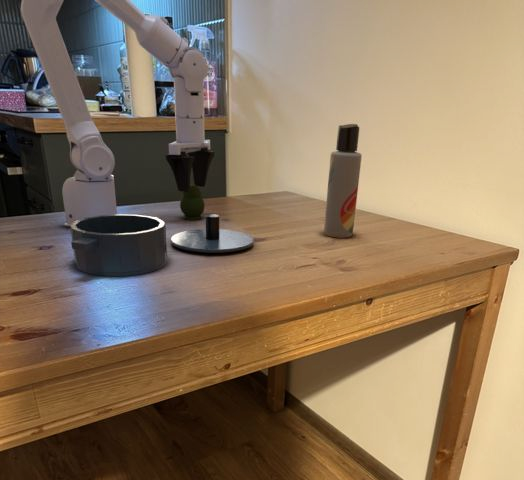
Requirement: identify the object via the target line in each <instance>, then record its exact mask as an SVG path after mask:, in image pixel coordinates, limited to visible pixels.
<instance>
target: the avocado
mask: <svg viewBox="0 0 524 480" xmlns="http://www.w3.org/2000/svg"><path fill="white" fill-rule="evenodd" d="M179 206H180V208H179V209H180V210H181V212H182V214H183V217H184V219H185V220H188V221H199V220H201V219H202V214H203V213H204V212H205V208H206V207H205V201H204V199H203V198H202V192H201V189H200V188H199V186H195V184H190V188H189V192H182V197H181V199H180V202H179Z"/></svg>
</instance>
